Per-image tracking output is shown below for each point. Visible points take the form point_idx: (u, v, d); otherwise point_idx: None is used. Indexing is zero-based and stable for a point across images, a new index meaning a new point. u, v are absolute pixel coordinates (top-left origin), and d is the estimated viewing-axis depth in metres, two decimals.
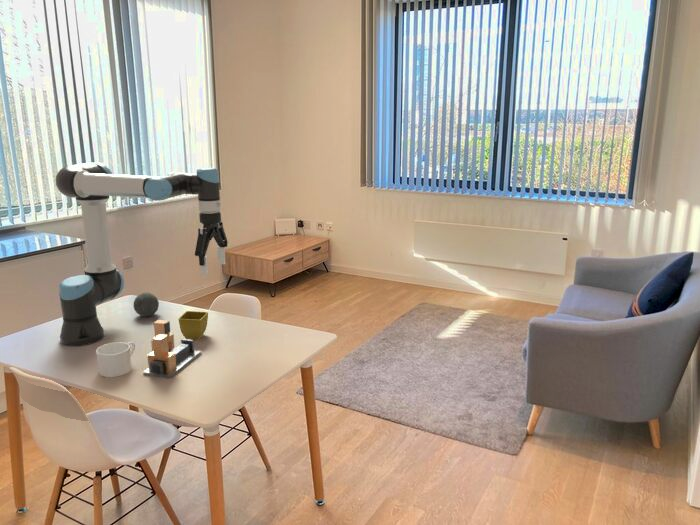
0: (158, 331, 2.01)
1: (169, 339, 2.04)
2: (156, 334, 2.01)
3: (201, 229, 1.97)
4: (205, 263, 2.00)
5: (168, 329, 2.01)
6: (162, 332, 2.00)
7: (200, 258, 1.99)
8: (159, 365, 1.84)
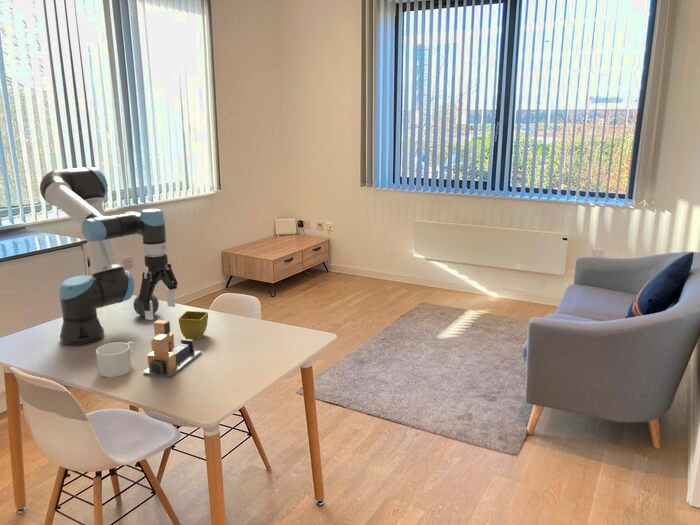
0: (158, 331, 2.01)
1: (169, 339, 2.04)
2: (156, 334, 2.01)
3: (145, 273, 1.90)
4: (150, 308, 1.92)
5: (168, 329, 2.01)
6: (162, 332, 2.00)
7: (145, 303, 1.91)
8: (159, 365, 1.84)
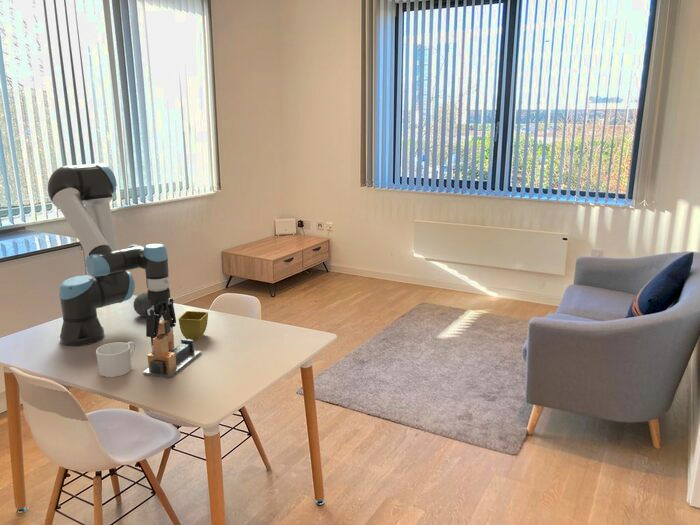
0: (158, 331, 2.01)
1: (169, 339, 2.04)
2: None
3: (148, 311, 1.93)
4: None
5: (168, 329, 2.01)
6: (162, 332, 2.00)
7: None
8: (159, 365, 1.84)
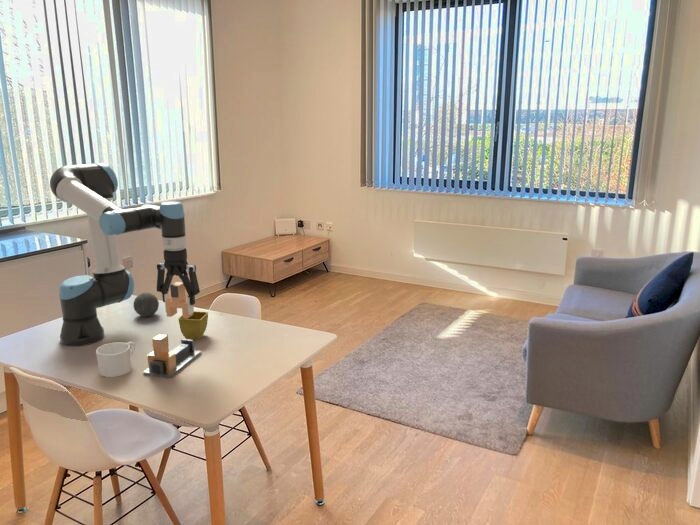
0: None
1: (178, 305, 1.93)
2: None
3: None
4: (165, 301, 1.95)
5: (174, 293, 1.91)
6: None
7: None
8: (159, 365, 1.84)
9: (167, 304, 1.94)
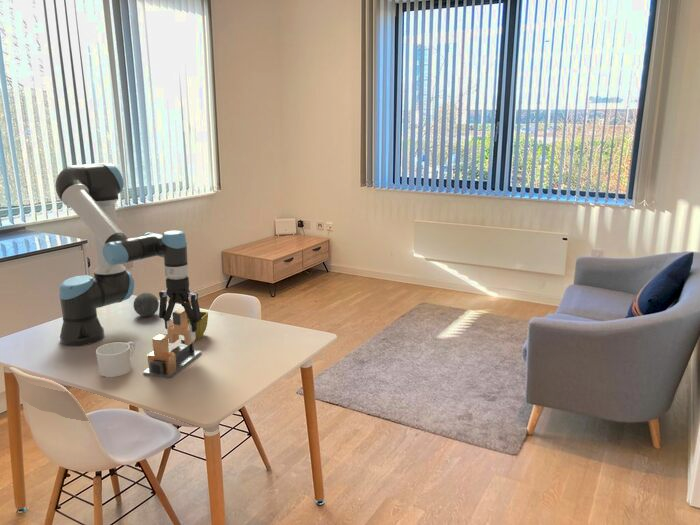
0: None
1: (181, 332, 1.95)
2: None
3: None
4: (167, 328, 1.97)
5: (176, 321, 1.94)
6: None
7: None
8: (159, 365, 1.84)
9: (169, 330, 1.96)
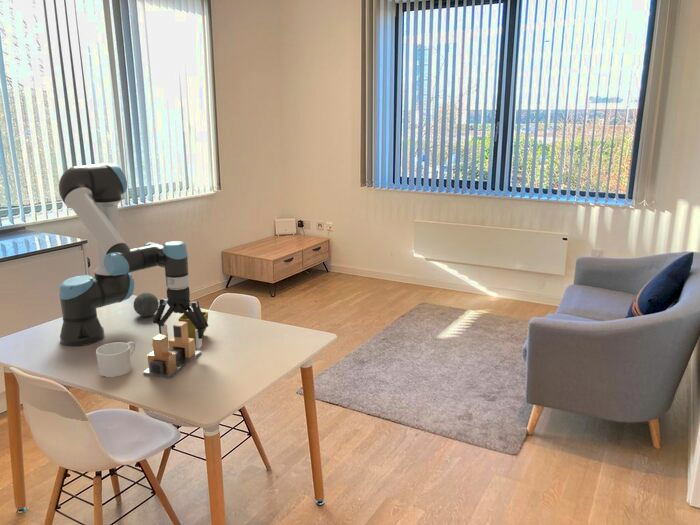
0: None
1: (181, 345, 1.96)
2: None
3: None
4: None
5: (177, 333, 1.95)
6: None
7: None
8: (159, 365, 1.84)
9: (170, 343, 1.98)
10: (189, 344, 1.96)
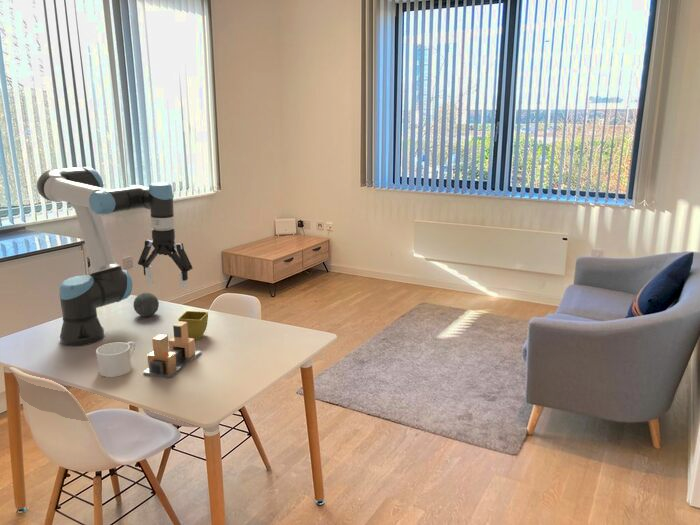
0: None
1: (181, 345, 1.96)
2: None
3: None
4: None
5: (177, 333, 1.95)
6: None
7: None
8: (159, 365, 1.84)
9: (170, 343, 1.98)
10: (189, 344, 1.96)
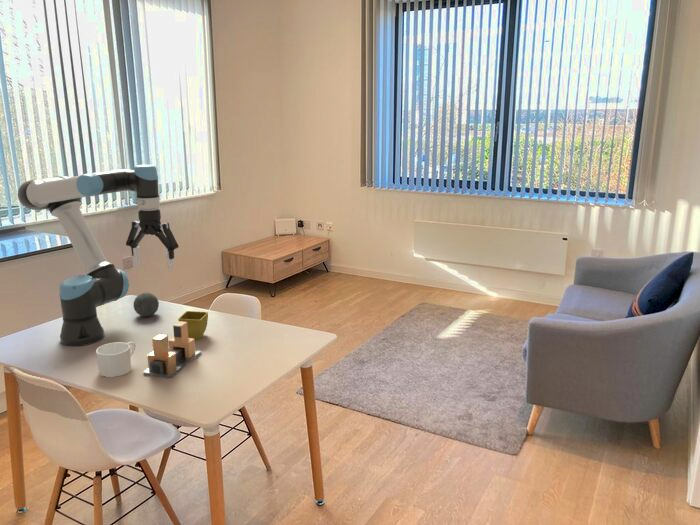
0: None
1: (181, 345, 1.96)
2: None
3: None
4: None
5: (177, 333, 1.95)
6: None
7: None
8: (159, 365, 1.84)
9: (170, 343, 1.98)
10: (189, 344, 1.96)
